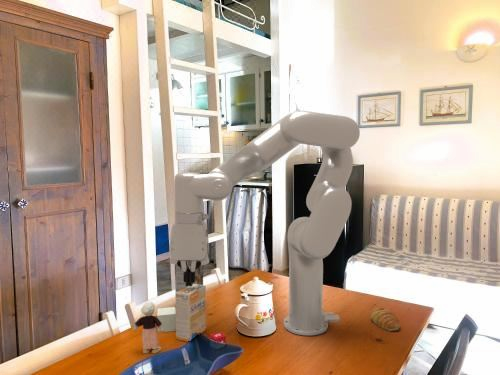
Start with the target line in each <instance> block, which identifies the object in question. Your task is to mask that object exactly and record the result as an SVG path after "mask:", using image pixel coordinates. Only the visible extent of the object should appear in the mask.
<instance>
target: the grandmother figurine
mask: <svg viewBox="0 0 500 375" xmlns="http://www.w3.org/2000/svg"><path fill="white" fill-rule="evenodd" d="M140 312H141V313H142V314H144V316H141V317H139V318H138V319H137V320H136V321H135V323H134V327H133V331H134V332H137V331H138V329H139V327H142V330H141V331H142V332H141V334H142V337H141V338H142V340H141V341H142V348H143V350H142V353H143V354H149V353H150V352H151V353H152V354H157V353H159V352H160V351H161V350H162V348H161V345H159V339H158V328H159V329H160V332H159V333H165V332H164V329H163V326H162V323H161V322H160V320H159V319H158V318H157V316H154V313H155V303H154V302H153V301H146V302H145V303H144V304H143V305H142V307H141V310H140Z"/></svg>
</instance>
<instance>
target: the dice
mask: <svg viewBox="0 0 500 375" xmlns="http://www.w3.org/2000/svg"><path fill="white" fill-rule="evenodd" d="M210 339H212V340H214V341H217V342H221V343H226V342H227V340H226V334H224V333H222V332H221V331H216V332H214V333H211V334H209V340H210ZM226 344H227V343H226Z"/></svg>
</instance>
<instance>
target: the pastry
mask: <svg viewBox="0 0 500 375" xmlns="http://www.w3.org/2000/svg"><path fill="white" fill-rule="evenodd" d="M370 317H371V320H372V322H373V323H374V324H375V325H376V326H378V327H380V328H381V329H384V330H385V331H389V332H393V331H398V330H399V329H400V327H401V324H400V321H399V319H398V316H396V314H395V313H394V312H393V311H392V310H389V309H387V308H386V307H382V306H380V307H377V308H374V309H373V311H372V312H371V313H370Z"/></svg>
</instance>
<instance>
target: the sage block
mask: <svg viewBox="0 0 500 375" xmlns="http://www.w3.org/2000/svg"><path fill="white" fill-rule="evenodd" d="M156 314H157V316H156V317H157V318H158V319H159V320H160V322H161V323H162V326H163V329H164V332H163V333H167V332H176V306H172V307H171V306H170V307H160V308H157V313H156ZM159 333H161V332H160V329H159V328H158V327H157V334H159Z"/></svg>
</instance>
